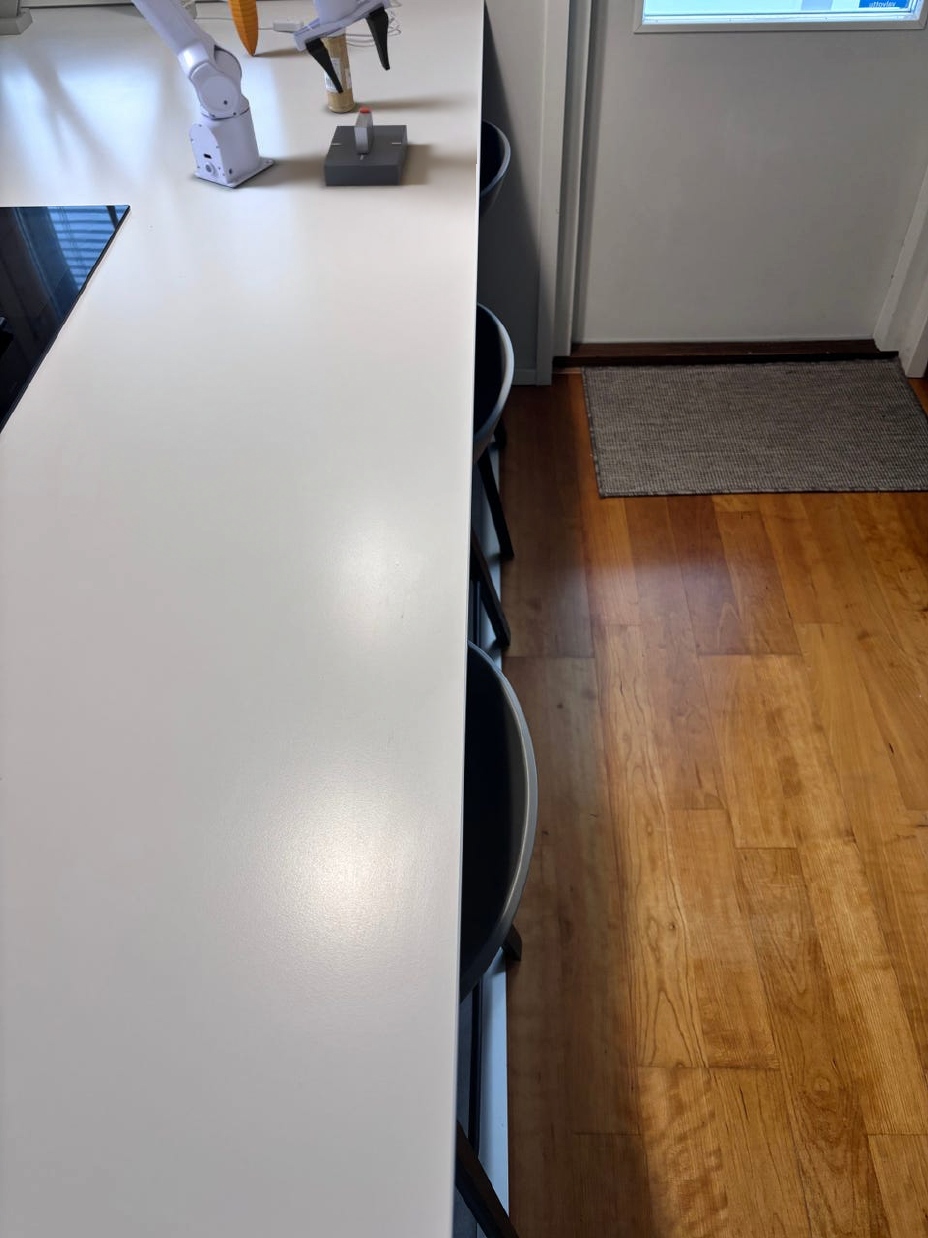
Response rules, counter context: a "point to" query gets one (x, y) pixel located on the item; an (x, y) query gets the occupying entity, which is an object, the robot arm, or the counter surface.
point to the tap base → (366, 157)
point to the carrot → (246, 22)
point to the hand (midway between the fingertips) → (363, 79)
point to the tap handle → (364, 131)
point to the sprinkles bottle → (339, 72)
